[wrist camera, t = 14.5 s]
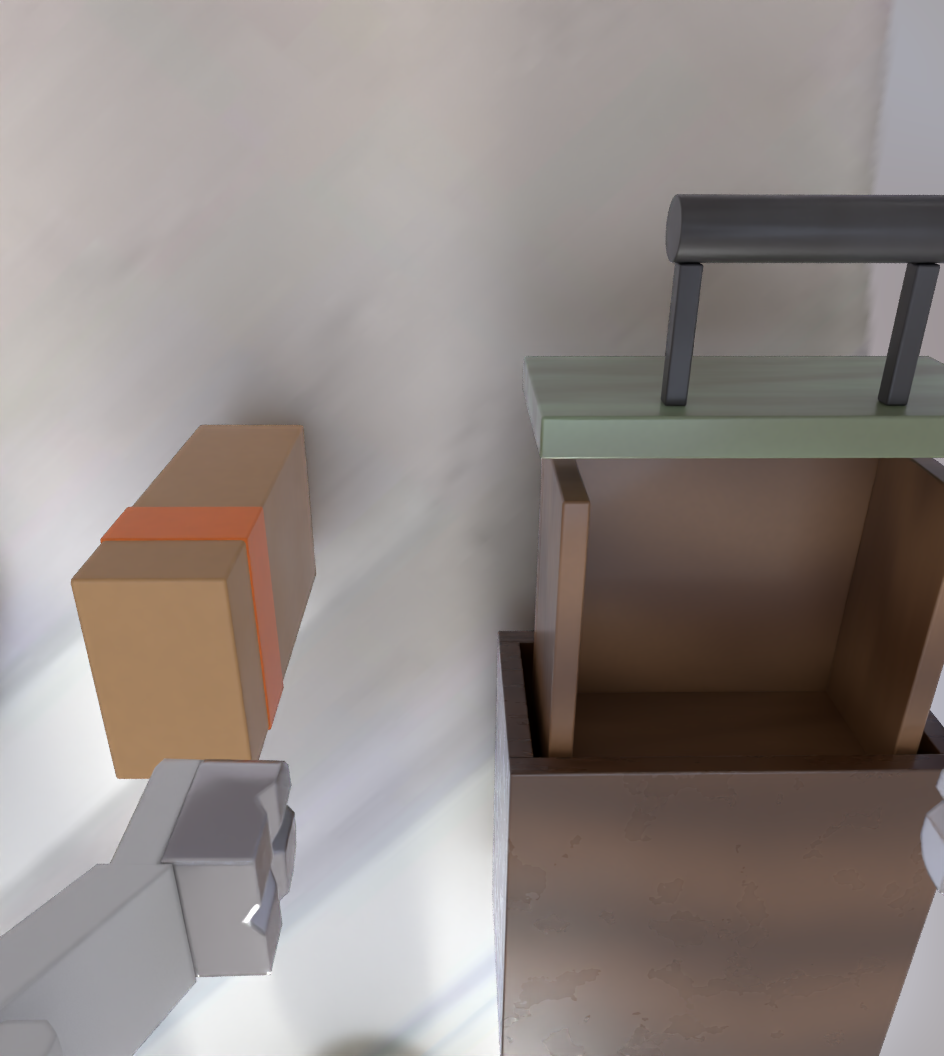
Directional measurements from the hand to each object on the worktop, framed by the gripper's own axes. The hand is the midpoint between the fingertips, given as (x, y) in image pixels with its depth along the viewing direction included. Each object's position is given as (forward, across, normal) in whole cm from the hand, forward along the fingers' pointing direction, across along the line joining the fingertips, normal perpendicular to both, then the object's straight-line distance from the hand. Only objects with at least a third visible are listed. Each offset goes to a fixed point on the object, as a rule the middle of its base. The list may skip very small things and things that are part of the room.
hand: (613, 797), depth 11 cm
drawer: (+19, -7, +4) cm, 21 cm away
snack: (+20, +9, +5) cm, 23 cm away
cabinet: (+20, -7, +18) cm, 28 cm away
